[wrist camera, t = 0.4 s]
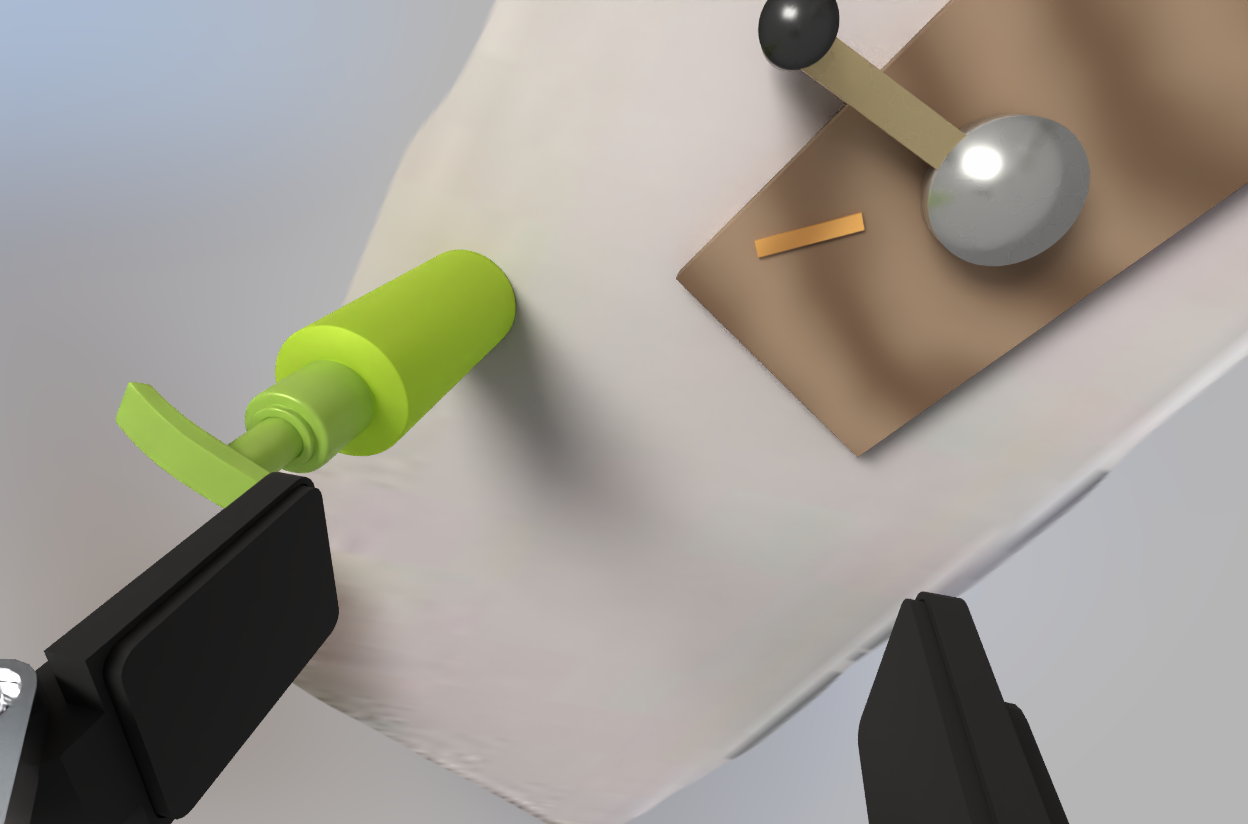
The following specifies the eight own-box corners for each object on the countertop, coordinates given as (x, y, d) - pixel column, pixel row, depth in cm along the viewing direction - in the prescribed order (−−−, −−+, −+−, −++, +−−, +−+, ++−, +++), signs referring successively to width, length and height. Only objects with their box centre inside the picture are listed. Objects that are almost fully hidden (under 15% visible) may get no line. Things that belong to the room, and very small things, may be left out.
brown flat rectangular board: (1183, -233, 24) (1210, -254, 23) (1388, 61, 27) (1426, 60, 25) (679, 271, 36) (675, 279, 34) (854, 443, 38) (857, 459, 37)
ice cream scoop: (1103, 167, 28) (1199, 193, 22) (993, 280, 31) (1049, 332, 25) (813, -55, 27) (827, -96, 21) (725, 85, 30) (713, 87, 24)
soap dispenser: (435, 215, 37) (131, 340, 19) (535, 295, 38) (332, 483, 20) (388, 294, 40) (86, 467, 22) (483, 366, 41) (264, 587, 23)
